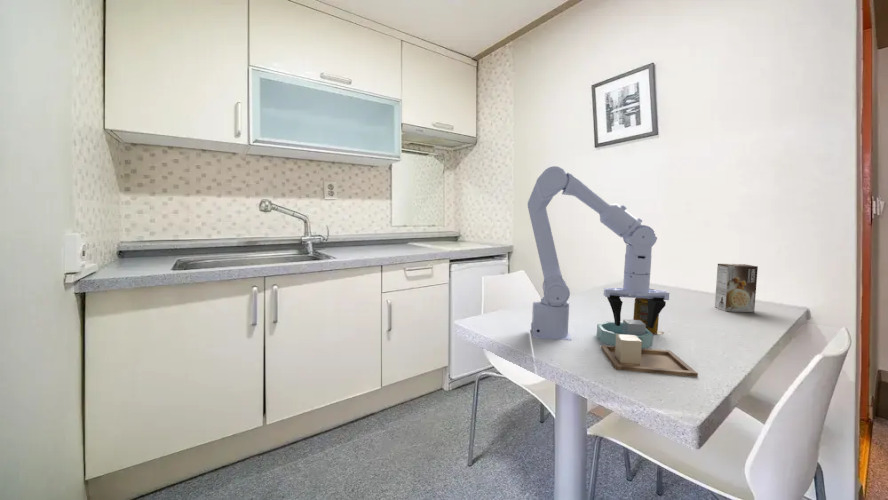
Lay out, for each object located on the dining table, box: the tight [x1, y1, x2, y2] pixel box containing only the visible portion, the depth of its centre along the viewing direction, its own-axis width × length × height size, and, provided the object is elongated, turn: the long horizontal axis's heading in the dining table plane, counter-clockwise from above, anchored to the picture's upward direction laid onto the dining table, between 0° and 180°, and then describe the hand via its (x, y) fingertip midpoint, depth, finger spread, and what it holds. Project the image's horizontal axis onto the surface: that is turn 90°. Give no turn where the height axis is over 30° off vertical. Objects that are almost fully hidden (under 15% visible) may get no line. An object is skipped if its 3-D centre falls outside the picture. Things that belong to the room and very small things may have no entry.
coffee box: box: [714, 263, 759, 313], centre depth 120 cm, size 9×6×16 cm
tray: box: [600, 344, 699, 378], centre depth 75 cm, size 15×12×1 cm
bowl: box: [596, 321, 654, 349], centre depth 87 cm, size 12×12×4 cm
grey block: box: [622, 318, 646, 336], centre depth 87 cm, size 4×4×5 cm
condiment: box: [632, 288, 665, 335], centre depth 95 cm, size 7×8×12 cm
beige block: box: [615, 334, 642, 364], centre depth 75 cm, size 4×4×5 cm
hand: (633, 325), depth 87 cm, fingers open, 7 cm apart
